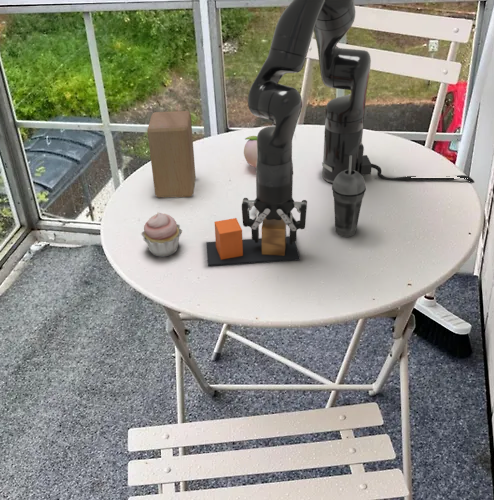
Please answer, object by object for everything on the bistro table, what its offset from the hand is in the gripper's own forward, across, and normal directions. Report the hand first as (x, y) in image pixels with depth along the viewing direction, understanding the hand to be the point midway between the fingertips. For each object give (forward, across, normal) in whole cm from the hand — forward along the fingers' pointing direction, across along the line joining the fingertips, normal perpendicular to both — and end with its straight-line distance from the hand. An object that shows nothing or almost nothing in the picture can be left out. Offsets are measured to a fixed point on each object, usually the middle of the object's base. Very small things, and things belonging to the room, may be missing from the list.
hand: (274, 241), depth 145 cm
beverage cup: (+3, +16, +9) cm, 18 cm away
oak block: (+2, 0, 0) cm, 2 cm away
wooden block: (+3, -28, +25) cm, 38 cm away
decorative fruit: (+3, -7, +37) cm, 38 cm away
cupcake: (+3, -25, -2) cm, 25 cm away
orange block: (+2, -10, -2) cm, 10 cm away
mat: (+2, -5, -1) cm, 6 cm away
